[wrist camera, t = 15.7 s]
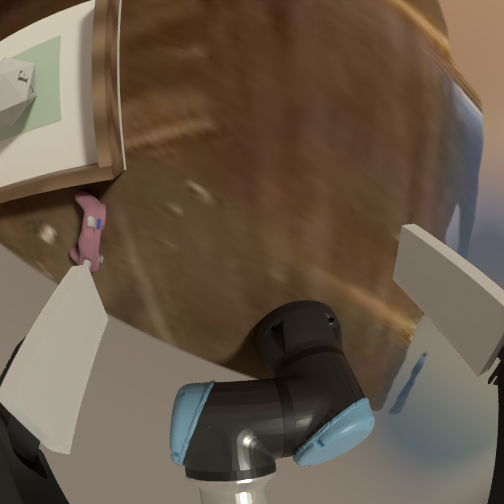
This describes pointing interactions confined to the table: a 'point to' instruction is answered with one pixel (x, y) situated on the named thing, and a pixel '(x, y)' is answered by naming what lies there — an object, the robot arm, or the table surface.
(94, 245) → the video game controller
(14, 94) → the die
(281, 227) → the table surface
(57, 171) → the wooden corner tray
